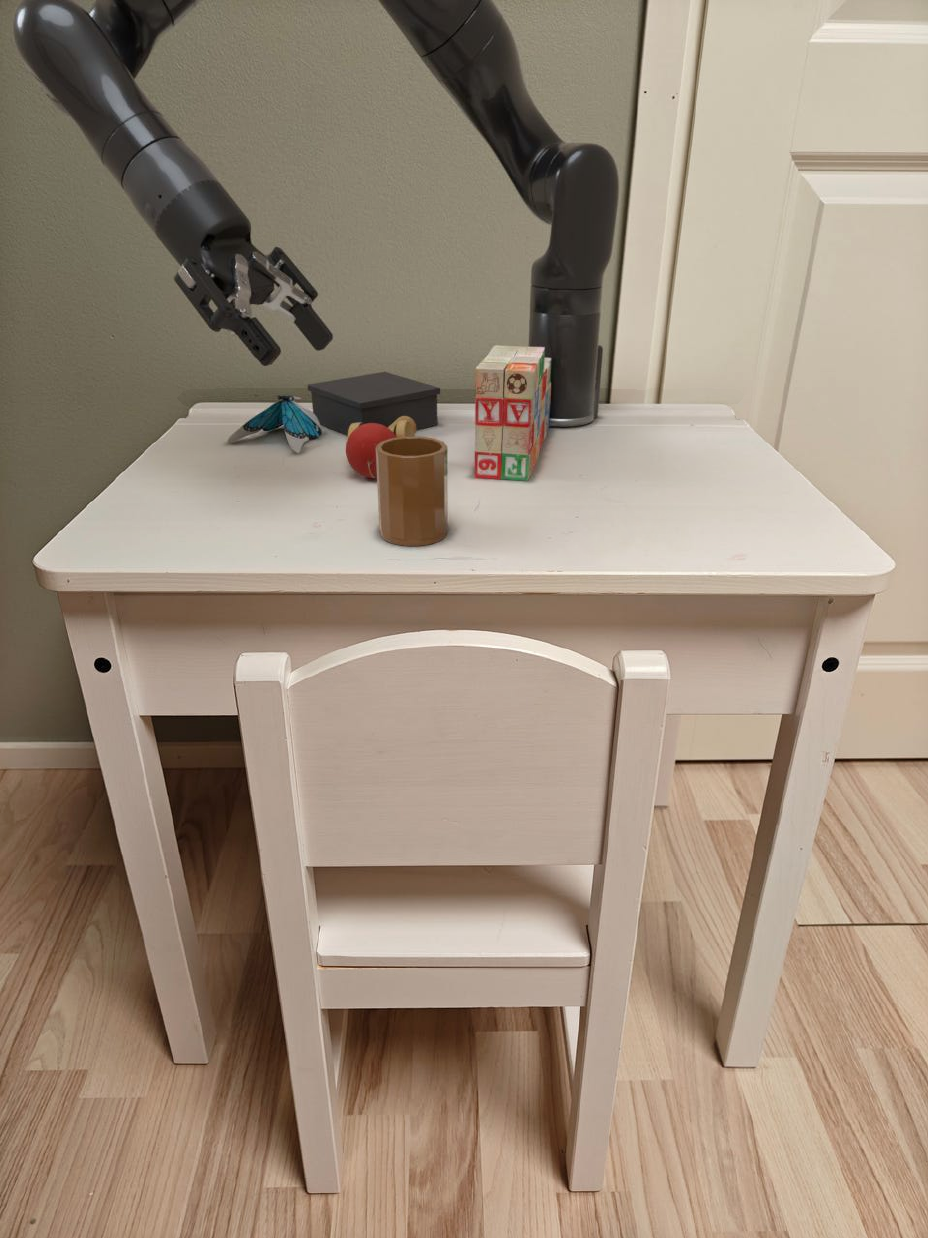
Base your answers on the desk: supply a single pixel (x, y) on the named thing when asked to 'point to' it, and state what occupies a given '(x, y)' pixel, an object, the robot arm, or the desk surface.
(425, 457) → the cup
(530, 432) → the stack of blocks
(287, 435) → the decorative butterfly
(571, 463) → the desk surface
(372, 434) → the kendama
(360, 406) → the black lidded box
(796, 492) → the desk surface
